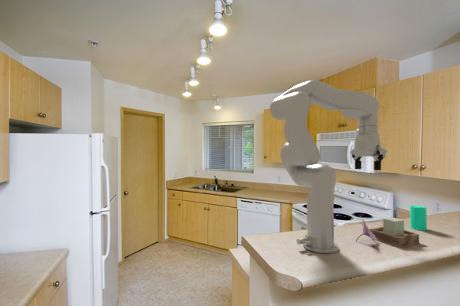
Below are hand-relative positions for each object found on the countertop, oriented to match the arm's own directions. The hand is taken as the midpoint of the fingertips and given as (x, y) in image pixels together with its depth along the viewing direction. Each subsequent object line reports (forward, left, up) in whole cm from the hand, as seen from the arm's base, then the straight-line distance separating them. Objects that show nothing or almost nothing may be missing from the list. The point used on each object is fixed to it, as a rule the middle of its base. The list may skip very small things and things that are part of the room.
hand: (367, 169), depth 103 cm
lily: (-9, -7, -29) cm, 31 cm away
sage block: (+4, -8, -26) cm, 28 cm away
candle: (+30, -2, -29) cm, 42 cm away
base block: (+4, -8, -29) cm, 30 cm away
